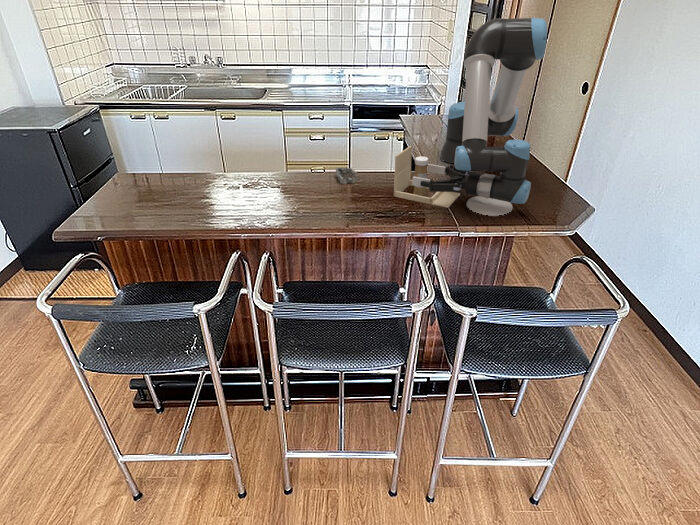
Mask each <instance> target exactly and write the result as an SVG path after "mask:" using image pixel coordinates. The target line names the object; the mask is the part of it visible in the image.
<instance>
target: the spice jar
mask: <svg viewBox="0 0 700 525" xmlns="http://www.w3.org/2000/svg"><path fill="white" fill-rule="evenodd" d="M428 164H429V158H428V157H427V156H417V157H415V158H414V165H415V166H414V167H415V168H414V177H419V178H425V179H428V176H427V175H428V172H427V169H428ZM426 190H427V189H426V187H422V186H417V185H414V186H413V192H412V194H414V195H419V196H425V195H426Z"/></svg>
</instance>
